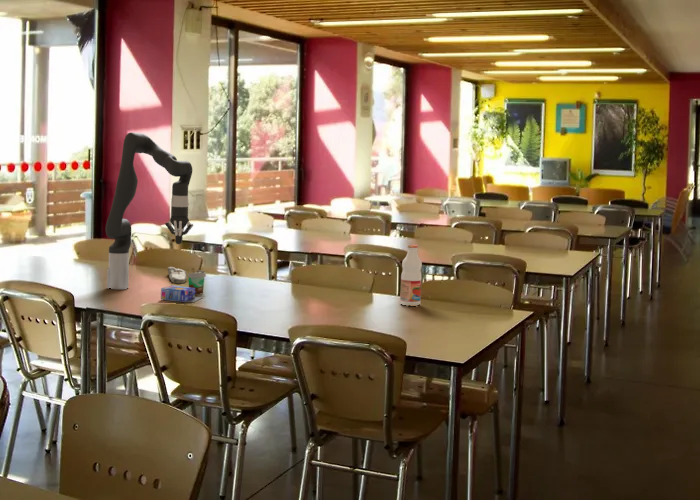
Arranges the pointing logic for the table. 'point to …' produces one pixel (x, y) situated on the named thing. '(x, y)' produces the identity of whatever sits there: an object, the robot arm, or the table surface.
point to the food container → (197, 281)
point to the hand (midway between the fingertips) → (178, 243)
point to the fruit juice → (411, 278)
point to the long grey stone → (177, 275)
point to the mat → (190, 300)
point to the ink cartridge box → (177, 293)
